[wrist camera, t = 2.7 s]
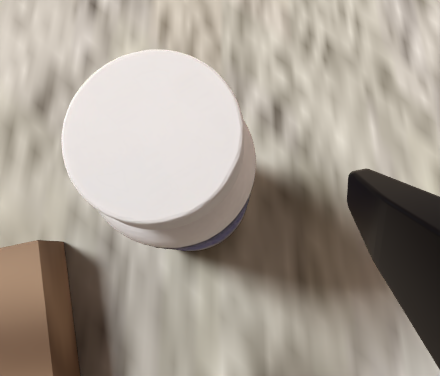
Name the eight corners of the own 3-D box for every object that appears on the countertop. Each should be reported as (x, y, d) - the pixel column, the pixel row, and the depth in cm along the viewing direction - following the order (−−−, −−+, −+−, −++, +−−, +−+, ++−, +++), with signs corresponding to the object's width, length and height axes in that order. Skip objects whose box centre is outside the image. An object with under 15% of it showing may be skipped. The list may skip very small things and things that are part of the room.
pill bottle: (256, 155, 19) (286, 49, 9) (234, 261, 18) (242, 273, 8) (153, 134, 19) (73, 11, 9) (126, 237, 18) (6, 221, 8)
